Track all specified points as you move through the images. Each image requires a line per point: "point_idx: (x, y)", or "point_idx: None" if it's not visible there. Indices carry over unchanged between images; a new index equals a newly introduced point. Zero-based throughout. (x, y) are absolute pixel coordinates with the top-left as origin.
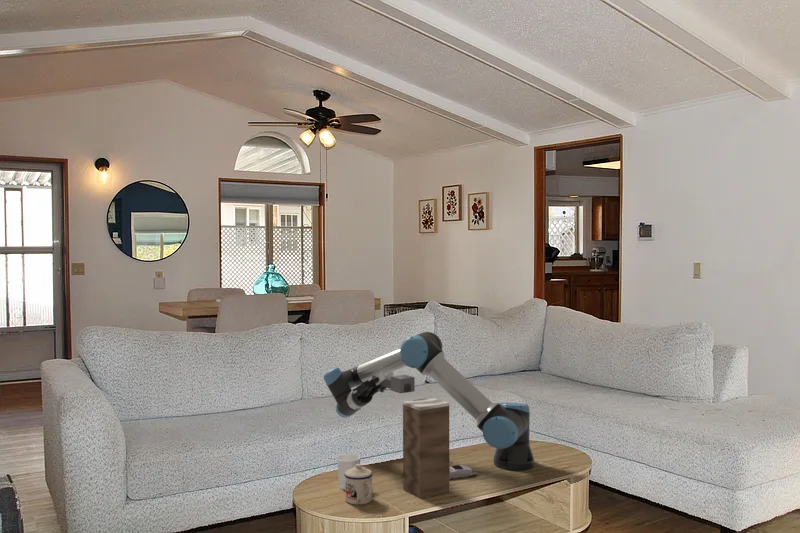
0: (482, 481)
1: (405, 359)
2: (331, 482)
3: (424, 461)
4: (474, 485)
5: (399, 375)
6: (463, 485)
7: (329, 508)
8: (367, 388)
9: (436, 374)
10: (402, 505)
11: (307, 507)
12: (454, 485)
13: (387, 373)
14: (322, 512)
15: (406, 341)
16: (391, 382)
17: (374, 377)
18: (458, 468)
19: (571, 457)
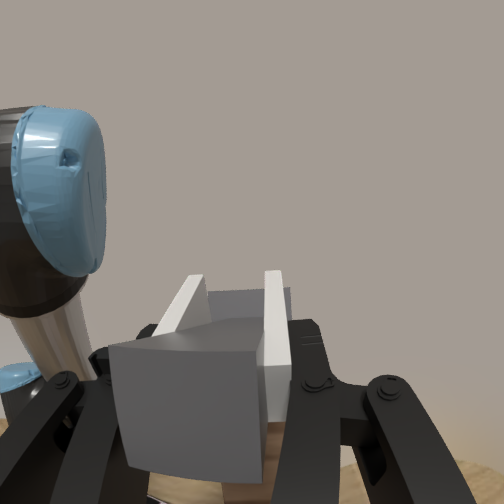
0: (153, 483)
1: (87, 217)
2: None
3: None
4: (180, 484)
5: (242, 290)
6: (192, 492)
7: (462, 474)
8: (371, 483)
9: (78, 306)
10: (345, 479)
11: (495, 471)
12: (204, 499)
13: None
14: (470, 464)
15: (97, 126)
16: (291, 316)
17: (262, 366)
18: (151, 501)
19: (8, 425)
